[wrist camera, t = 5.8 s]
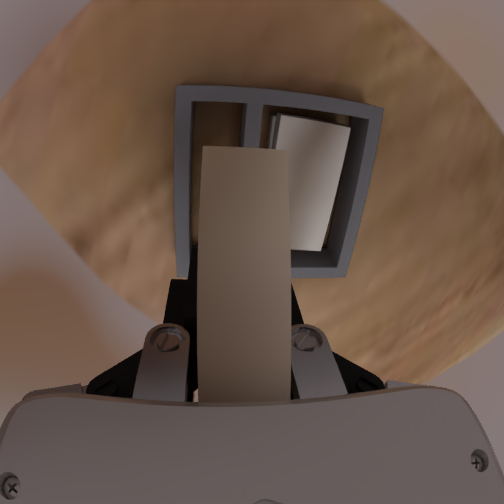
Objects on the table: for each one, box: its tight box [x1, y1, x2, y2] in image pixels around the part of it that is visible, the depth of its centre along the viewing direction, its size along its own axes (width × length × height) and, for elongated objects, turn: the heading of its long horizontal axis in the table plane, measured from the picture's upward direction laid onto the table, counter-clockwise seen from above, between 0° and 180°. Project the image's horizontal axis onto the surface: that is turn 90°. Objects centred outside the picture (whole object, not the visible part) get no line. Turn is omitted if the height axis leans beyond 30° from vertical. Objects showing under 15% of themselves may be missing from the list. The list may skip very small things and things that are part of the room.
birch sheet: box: [197, 146, 291, 402], centre depth 13 cm, size 2×7×12 cm
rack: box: [174, 84, 384, 278], centre depth 23 cm, size 14×14×3 cm
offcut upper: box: [271, 113, 351, 251], centre depth 23 cm, size 5×10×2 cm, turn 172°
